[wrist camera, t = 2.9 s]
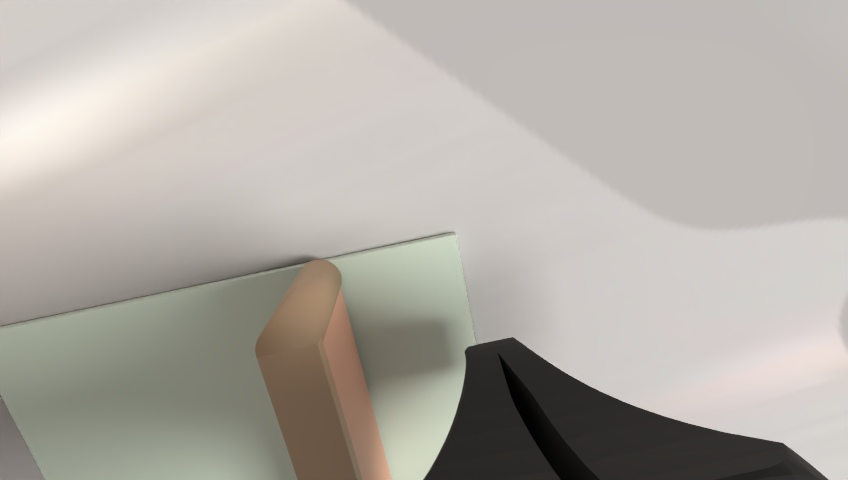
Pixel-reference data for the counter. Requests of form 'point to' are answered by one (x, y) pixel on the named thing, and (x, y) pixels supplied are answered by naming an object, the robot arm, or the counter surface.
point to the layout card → (234, 372)
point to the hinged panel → (320, 382)
